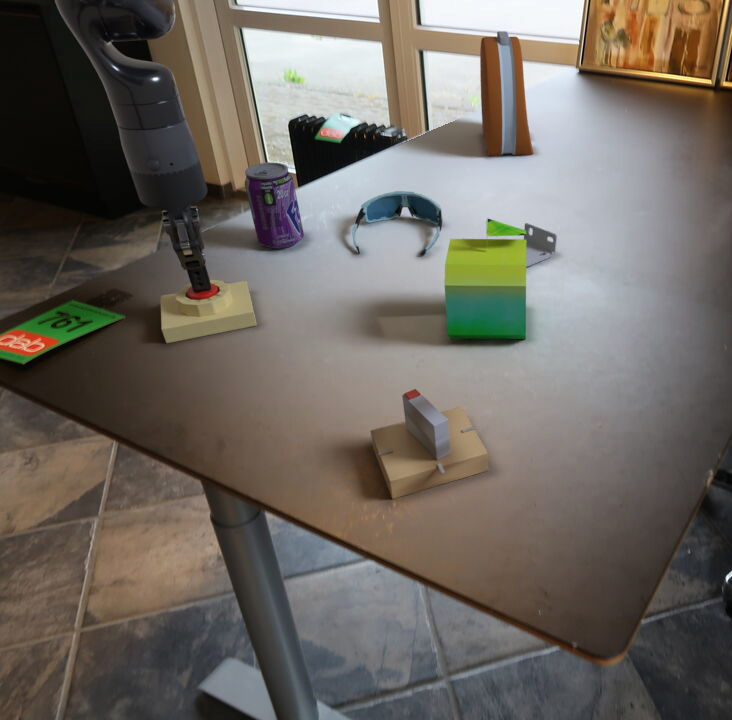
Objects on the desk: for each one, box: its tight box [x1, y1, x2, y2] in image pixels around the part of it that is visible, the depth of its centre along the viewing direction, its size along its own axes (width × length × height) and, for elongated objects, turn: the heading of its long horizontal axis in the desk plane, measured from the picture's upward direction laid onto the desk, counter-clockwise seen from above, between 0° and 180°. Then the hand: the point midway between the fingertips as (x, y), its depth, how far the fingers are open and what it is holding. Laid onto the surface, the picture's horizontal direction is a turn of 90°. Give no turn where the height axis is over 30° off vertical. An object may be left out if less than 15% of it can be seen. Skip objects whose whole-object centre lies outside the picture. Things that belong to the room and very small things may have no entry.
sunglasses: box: [351, 190, 444, 257], centre depth 115 cm, size 14×15×5 cm
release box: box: [160, 279, 258, 344], centre depth 93 cm, size 11×9×4 cm
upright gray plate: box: [401, 388, 450, 460], centre depth 70 cm, size 6×2×5 cm, turn 39°
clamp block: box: [370, 406, 489, 500], centre depth 72 cm, size 10×10×3 cm
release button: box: [187, 283, 218, 300], centre depth 93 cm, size 4×4×2 cm
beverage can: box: [244, 162, 305, 249], centre depth 110 cm, size 7×7×12 cm
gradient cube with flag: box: [444, 218, 527, 340], centre depth 90 cm, size 11×10×15 cm
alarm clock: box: [479, 30, 535, 157], centre depth 148 cm, size 22×10×23 cm, turn 8°
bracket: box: [523, 222, 558, 268], centre depth 109 cm, size 7×10×3 cm, turn 139°
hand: (202, 288), depth 92 cm, fingers closed
